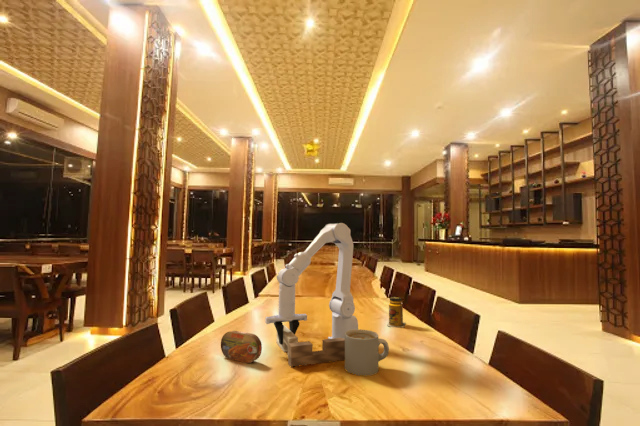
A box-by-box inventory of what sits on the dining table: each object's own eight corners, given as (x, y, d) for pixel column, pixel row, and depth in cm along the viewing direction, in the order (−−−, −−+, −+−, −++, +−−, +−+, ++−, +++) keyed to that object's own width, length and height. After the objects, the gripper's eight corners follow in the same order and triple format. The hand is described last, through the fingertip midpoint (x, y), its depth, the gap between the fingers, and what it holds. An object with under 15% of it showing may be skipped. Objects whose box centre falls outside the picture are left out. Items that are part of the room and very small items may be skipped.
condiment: (386, 326, 142) (386, 298, 143) (389, 321, 150) (389, 295, 151) (403, 328, 140) (403, 299, 141) (405, 323, 148) (405, 296, 149)
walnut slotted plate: (341, 356, 106) (341, 337, 106) (345, 359, 103) (345, 340, 103) (288, 363, 99) (288, 343, 100) (291, 367, 96) (291, 346, 97)
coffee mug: (346, 375, 91) (346, 339, 92) (343, 361, 101) (343, 329, 102) (393, 376, 91) (393, 339, 92) (386, 362, 101) (386, 329, 102)
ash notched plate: (284, 341, 120) (284, 325, 120) (297, 356, 105) (297, 337, 105) (276, 342, 119) (276, 325, 119) (288, 357, 104) (289, 338, 104)
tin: (219, 356, 104) (220, 330, 105) (226, 353, 107) (227, 327, 108) (256, 366, 97) (257, 337, 98) (263, 362, 100) (263, 334, 101)
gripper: (269, 306, 107) (268, 349, 106) (310, 304, 112) (309, 344, 111) (264, 302, 113) (263, 342, 112) (303, 300, 119) (303, 338, 118)
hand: (286, 343), depth 112 cm, fingers closed on ash notched plate, 3 cm apart
